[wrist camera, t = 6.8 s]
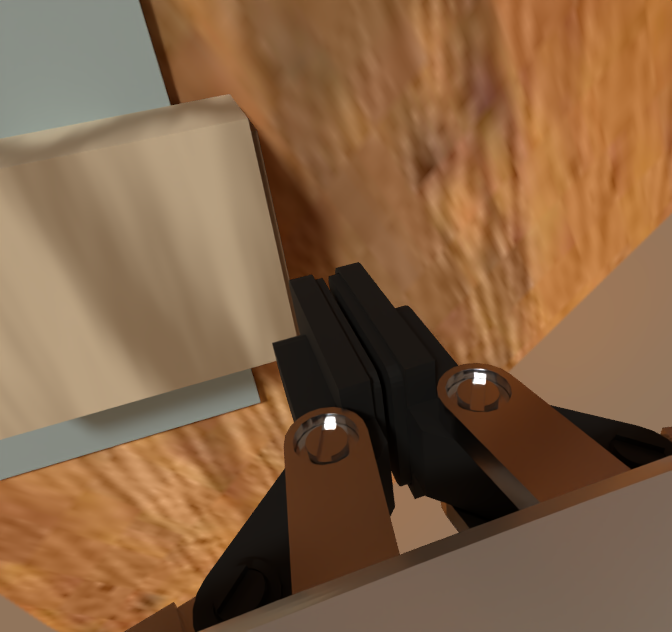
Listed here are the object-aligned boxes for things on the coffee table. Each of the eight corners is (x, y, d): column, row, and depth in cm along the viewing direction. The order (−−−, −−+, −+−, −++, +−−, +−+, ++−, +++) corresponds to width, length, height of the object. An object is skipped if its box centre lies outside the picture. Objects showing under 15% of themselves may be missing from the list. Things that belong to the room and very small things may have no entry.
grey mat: (102, -121, 14) (100, -126, 13) (258, 394, 25) (260, 402, 24) (-447, -56, 12) (-475, -59, 11) (-13, 474, 23) (-17, 485, 22)
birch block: (255, 116, 13) (-272, 224, 11) (306, 352, 17) (-64, 458, 15) (235, 92, 17) (-152, 168, 15) (280, 288, 22) (-15, 365, 20)
